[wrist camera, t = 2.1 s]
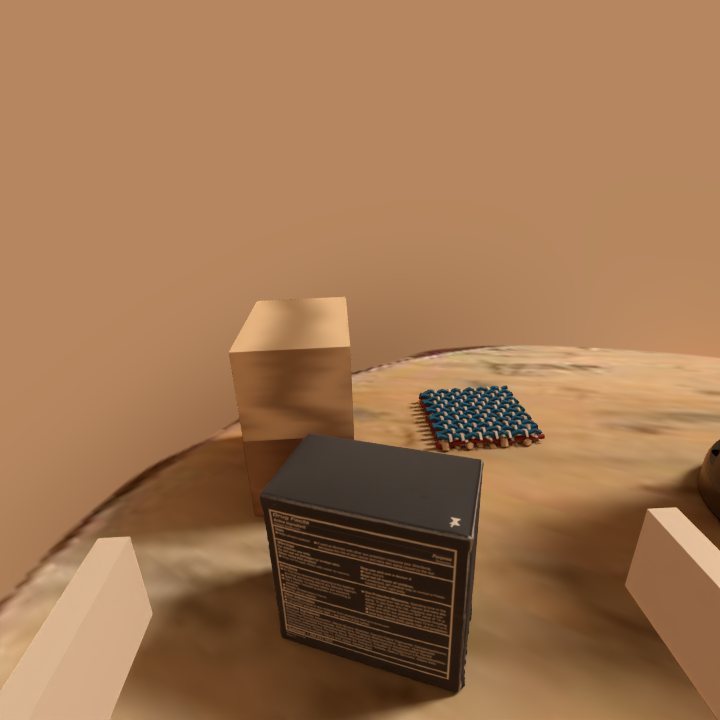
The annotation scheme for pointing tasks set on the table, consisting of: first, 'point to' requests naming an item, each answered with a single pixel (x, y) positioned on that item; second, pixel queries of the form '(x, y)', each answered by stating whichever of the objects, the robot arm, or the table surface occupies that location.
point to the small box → (376, 554)
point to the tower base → (268, 463)
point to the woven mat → (477, 418)
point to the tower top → (294, 370)
